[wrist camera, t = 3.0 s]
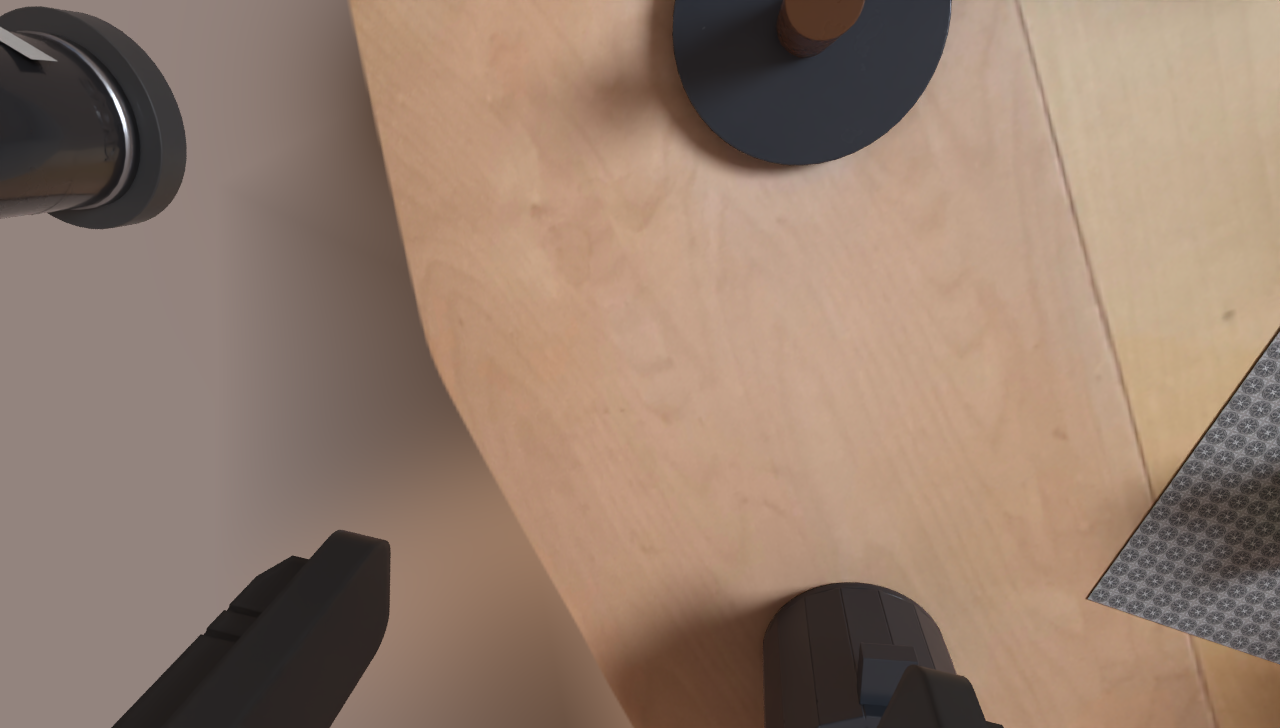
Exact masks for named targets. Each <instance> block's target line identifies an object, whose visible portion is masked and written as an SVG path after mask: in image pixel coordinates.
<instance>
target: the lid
mask: <svg viewBox="0 0 1280 728" xmlns="http://www.w3.org/2000/svg"><path fill="white" fill-rule="evenodd" d="M951 5H952V0H675V5H674V12H673V46H674V55H675V59H676V64H677V69H678V73H679V75H680V78H681V81H682V84H683V87H684V89H685V91H686V93H687V95H688V97H689V99H690V101H691V104H692V105H693V107H694V108H695V110H696V111H697V113H698V114H699V116H700V117H701V118H702V120H703V121H704V122H705V123H706V124H707V125H708V126H709V127H710V129H711V130H712V131H713V132H714V133H716V134H717V135H718V136H719V137H720V138H721V139H723V140H724V141H725V142H726V143H728V144H729V145H731V146H733V147H734V148H736V149H737V150H739V151H741V152H743V153H745V154H747V155H750V156H752V157H754V158H757V159H760V160H764V161H767V162H771V163H777V164H783V165H810V164H820V163H824V162H828V161H832V160H836V159H839V158H842V157H844V156H847V155H850V154H852V153H855V152H856V151H858V150H860V149H862V148H864V147H866V146H868V145H870V144H871V143H873V142H874V141H876V140H877V139H878V138H880V137H881V136H883V135H884V134H886V133H887V132H888V131H889V130H890V129H891V128H892V127H894V126H895V125H896V124H897V123H898V122H899V121H900V120H901V119H902V118H903V117H904V116H905V115H906V114H907V113H908V111H909V110H910V109H911V108H912V107H913V106H914V104H915V103H916V102H917V100H918V99H919V97H920V96H921V95H922V93H923V92H924V90H925V89H926V87H927V85H928V83H929V81H930V80H931V78H932V76H933V74H934V72H935V70H936V68H937V65H938V63H939V60H940V58H941V56H942V53H943V49H944V46H945V42H946V39H947V35H948V30H949V24H950V18H951Z"/></svg>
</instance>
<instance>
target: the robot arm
mask: <svg viewBox="0 0 1280 728" xmlns="http://www.w3.org/2000/svg"><path fill="white" fill-rule="evenodd" d="M139 162H140V136H139V131H138V126H137V122H136V118H135V115H134V112H133V110H132V107H131V105H130V102H129V100H128V98H127V96H126V94H125V93H124V91H123V89H122V88H121V86H120V84H119V83H118V81H117V80H116V79H115V77H114V76H113V75H112V73H111V72H110V71H109V70H108V69H107V67H106V66H105V65H104V64H103V63H102V62H101V61H100V60H99V59H98V58H97V57H95V56H94V55H93V54H92V53H91V52H89V51H88V50H87V49H85V48H84V47H82V46H81V45H79V44H77V43H75V42H74V41H72V40H69V39H67V38H65V37H62V36H59V35H55V34H51V33H44V32H35V31H8V30H5V29H3V28H2V27H0V219H1V218H7V217H16V216H23V215H33V214H40V213H47V212H55V211H62V210H69V209H72V210H81V209H90V208H97V207H102V206H106V205H108V204H111V203H113V202H115V201H117V200H118V199H119V198H121V197H122V196H123V195H124V194H125V193H126V192H127V191H128V189H129V188H130V186H131V185H132V183H133V181H134V179H135V177H136V174H137V171H138V167H139ZM389 605H390V545H389V542H388V541H386V540H382V539H378V538H374V537H369V536H365V535H361V534H357V533H353V532H348V531H344V530H338V531H335V532H334V533H333V534H332V535H331V536H330V537H329V538H328V539H327V540H326V541H325V542H324V543H323V545H322V546H321V547H320V548H319V549H318V550H317V551H316V552H315V553H314V555H313V556H312V557H311V558H310V559H305V558H301V557H296V556H291V557H289V558H288V559H286V560H284V561H283V562H281V563H279V564H277V565H275V566H274V567H272V568H270V569H268V570H267V571H265V572H263V573H262V574H260V575H258V576H256V577H255V579H254V580H253V581H252V582H251V583H250V584H249V585H248V586H247V587H246V588H245V589H244V590H243V591H242V592H241V593H240V594H239V595H238V596H237V597H236V598H235V599H234V601H232V602H231V604H230V606H229V608H228V610H227V611H226V610H224V611H223V612H222V613H221V614H220V615H219V616H218V617H217V618H216V619H215V620H214V621H213V622H212V623H211V624H210V625H209V627H208V628H207V631H206V633H205V634H204V635H200V636H199V637H198V638H197V639H196V640H195V641H194V642H193V643H192V644H191V646H189V647H188V648H187V649H186V651H185V652H184V653H183V654H182V655H181V656H180V657H179V658H178V659H177V660H176V661H175V662H174V663H173V664H172V665H171V666H170V667H169V668H168V669H167V670H166V671H165V672H164V673H163V674H162V675H161V677H160V678H159V679H158V680H157V681H156V682H155V683H154V684H153V685H152V686H151V687H150V688H149V689H148V690H147V691H146V692H145V693H144V694H143V695H142V696H141V697H140V698H139V699H138V700H137V702H136V703H135V704H134V705H133V706H132V707H131V708H130V709H129V710H128V711H127V712H126V713H125V714H124V715H123V716H122V717H121V718H120V719H119V720H118V721H117V722H116V723H115V724H114V726H113V727H112V728H330V726H331V725H332V723H333V721H334V720H335V718H336V717H337V715H338V713H339V712H340V710H341V709H342V707H343V705H344V704H345V702H346V700H347V699H348V697H349V696H350V694H351V693H352V691H353V689H354V688H355V686H356V685H357V683H358V681H359V679H360V678H361V677H362V675H363V673H364V672H365V670H366V669H367V667H368V665H369V664H370V662H371V661H372V659H373V657H374V656H375V654H376V652H377V650H378V648H379V646H380V644H381V642H382V639H383V637H384V634H385V631H386V627H387V623H388V619H389V607H390V606H389ZM877 728H1004V727H1003V726H1002V725H1000V724H996V723H992V722H987V721H986V720H985V718H984V715H983V713H982V710H981V707H980V705H979V702H978V699H977V697H976V694H975V691H974V689H973V687H972V685H971V683H970V681H969V680H968V679H967V678H965V677H964V676H960V675H956V674H952V673H947V672H943V671H939V670H935V669H931V668H926V667H922V666H918V665H913V664H912V665H910V666H908V667H907V668H906V670H905V671H904V673H903V675H902V677H901V679H900V681H899V683H898V685H897V687H896V689H895V692H894V694H893V696H892V698H891V700H890V702H889V704H888V706H887V708H886V710H885V712H884V714H883V716H882V718H881V720H880V722H879V724H878V726H877Z"/></svg>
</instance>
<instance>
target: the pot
mask: <svg viewBox="0 0 1280 728" xmlns="http://www.w3.org/2000/svg"><path fill="white" fill-rule="evenodd" d="M912 664H913V665H918V666H922V667H926V668H931V669H935V670H939V671H943V672H947V673H952V674H956V675H957V673H956V670H955V668H954V665H953V662H952V660H951V657H950V654H949V652H948V649H947V647H946V644H945V642H944V639H943V637H942V634H941V632H940V630H939V628H938V626H937V624H936V623H935V622H934V620H933V619H932V617H931V616H930V615H929V614H928V613H927V612H926V611H925V610H924V609H923V608H922V607H920V606H919V605H918V604H917V603H915V602H914V601H912V600H911V599H909V598H908V597H906V596H904V595H902V594H900V593H898V592H896V591H893V590H890V589H887V588H884V587H881V586H876V585H872V584H864V583H837V584H830V585H825V586H821V587H818V588H815V589H812V590H809V591H807V592H805V593H803V594H800V595H799V596H797V597H795V598H794V599H792V600H791V601H789V602H788V603H787V604H786V605H784V606H783V607H782V608H781V609H780V610H779V611H778V613H777V614H776V615H775V616H774V618H773V619H772V621H771V622H770V624H769V626H768V628H767V631H766V634H765V637H764V642H763V693H764V728H877V726H878V724H879V722H880V720H881V718H882V716H883V714H884V712H885V710H886V708H887V706H888V704H889V702H890V700H891V698H892V696H893V694H894V692H895V689H896V687H897V685H898V683H899V681H900V679H901V677H902V675H903V673H904V671H905V670H906V668H907V667H908V666H910V665H912Z"/></svg>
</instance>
